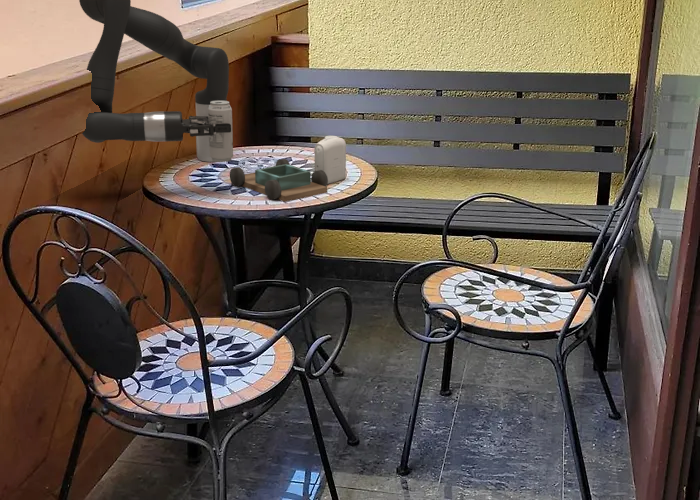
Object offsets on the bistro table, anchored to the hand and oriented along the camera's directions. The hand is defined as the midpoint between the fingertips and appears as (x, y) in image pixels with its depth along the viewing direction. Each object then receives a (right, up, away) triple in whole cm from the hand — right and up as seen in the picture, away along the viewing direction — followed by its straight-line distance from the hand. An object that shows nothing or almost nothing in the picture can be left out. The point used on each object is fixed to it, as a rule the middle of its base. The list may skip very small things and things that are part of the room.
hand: (230, 125), depth 208 cm
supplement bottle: (+25, -9, +30) cm, 40 cm away
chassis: (+12, -15, +10) cm, 22 cm away
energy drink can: (-3, -9, +3) cm, 10 cm away
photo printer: (+25, -13, +17) cm, 33 cm away
